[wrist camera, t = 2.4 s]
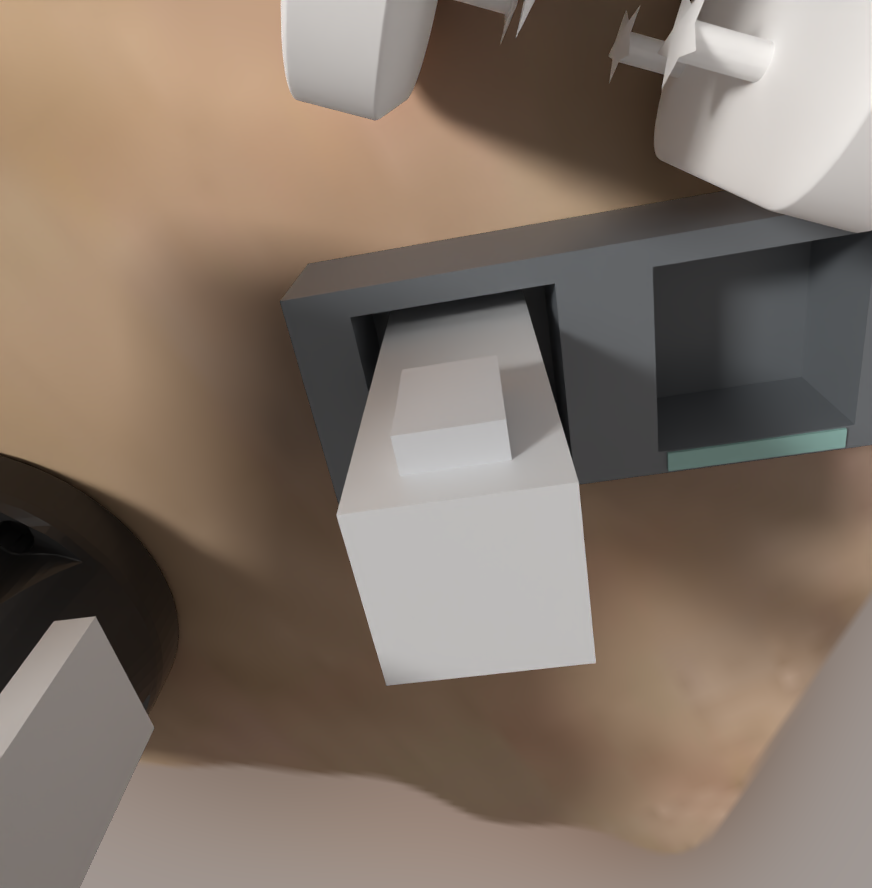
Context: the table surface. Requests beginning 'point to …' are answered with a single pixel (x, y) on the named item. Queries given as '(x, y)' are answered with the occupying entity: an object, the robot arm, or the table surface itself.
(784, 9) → the cable organizer
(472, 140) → the table surface
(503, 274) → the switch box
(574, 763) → the table surface
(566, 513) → the plug
